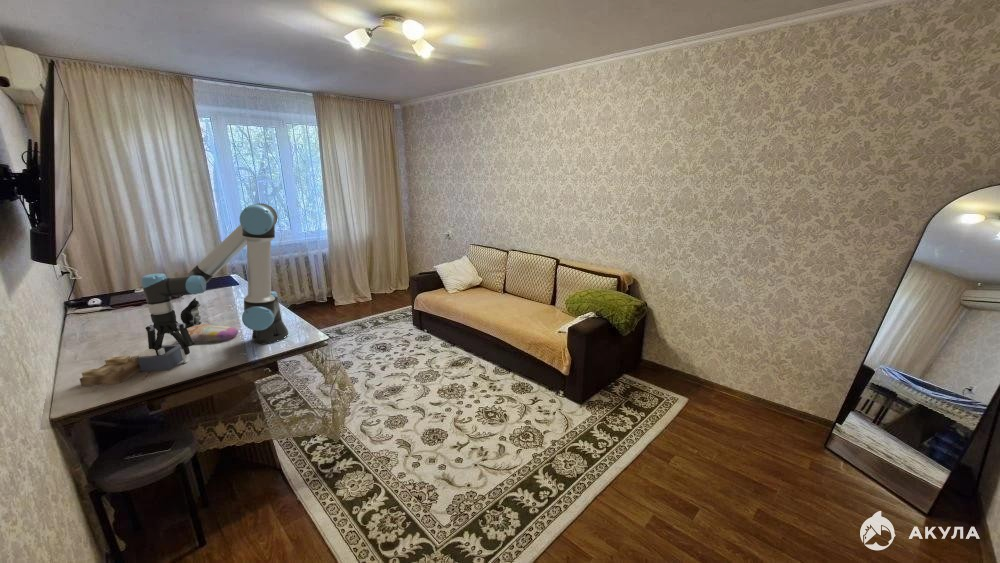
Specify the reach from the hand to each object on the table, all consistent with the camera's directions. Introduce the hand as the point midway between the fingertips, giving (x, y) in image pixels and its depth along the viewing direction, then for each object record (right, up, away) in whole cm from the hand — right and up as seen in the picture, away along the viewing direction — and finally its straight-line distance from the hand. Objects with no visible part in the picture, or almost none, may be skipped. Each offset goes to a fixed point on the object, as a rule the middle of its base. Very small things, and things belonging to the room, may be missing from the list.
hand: (175, 362), depth 160 cm
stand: (-15, -3, -9) cm, 18 cm away
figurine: (-25, +10, +40) cm, 48 cm away
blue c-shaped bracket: (-4, 0, 0) cm, 4 cm away
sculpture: (-5, +6, +26) cm, 27 cm away
